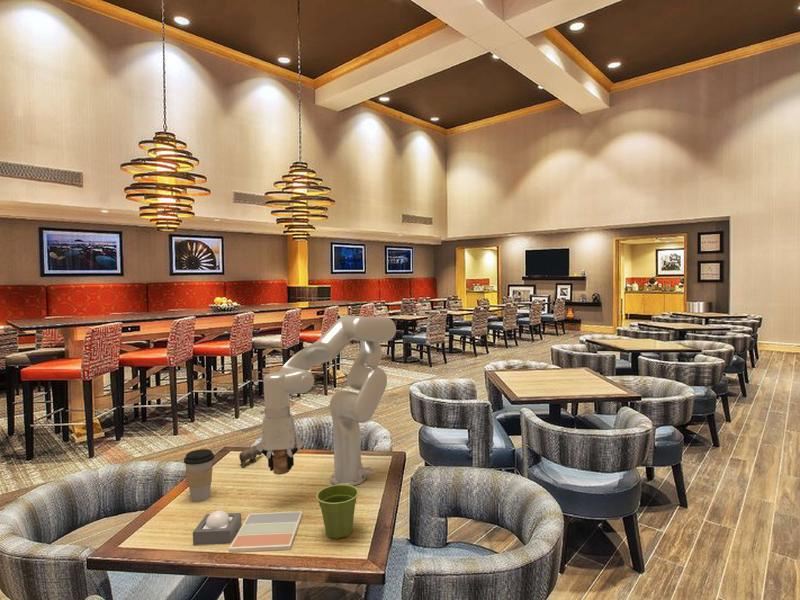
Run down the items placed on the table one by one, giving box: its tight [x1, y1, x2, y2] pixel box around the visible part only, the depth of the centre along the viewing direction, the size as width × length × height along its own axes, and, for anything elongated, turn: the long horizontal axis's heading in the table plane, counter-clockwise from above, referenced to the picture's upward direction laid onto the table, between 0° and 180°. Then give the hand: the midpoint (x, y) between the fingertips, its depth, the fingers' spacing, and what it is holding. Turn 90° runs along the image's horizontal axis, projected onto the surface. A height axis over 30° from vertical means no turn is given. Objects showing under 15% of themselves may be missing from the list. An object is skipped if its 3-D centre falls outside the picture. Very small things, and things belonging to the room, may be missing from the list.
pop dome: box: [203, 510, 233, 529], centre depth 133 cm, size 6×6×6 cm
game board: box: [228, 510, 304, 553], centre depth 133 cm, size 16×19×1 cm
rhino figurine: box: [238, 444, 263, 468], centre depth 188 cm, size 4×14×6 cm, turn 157°
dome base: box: [192, 512, 243, 546], centre depth 133 cm, size 10×10×4 cm
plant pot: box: [315, 484, 360, 540], centre depth 132 cm, size 12×12×11 cm
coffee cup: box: [183, 448, 215, 503], centre depth 156 cm, size 9×9×15 cm
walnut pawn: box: [272, 450, 291, 475], centre depth 149 cm, size 5×5×8 cm
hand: (281, 468), depth 149 cm, fingers closed on walnut pawn, 4 cm apart
